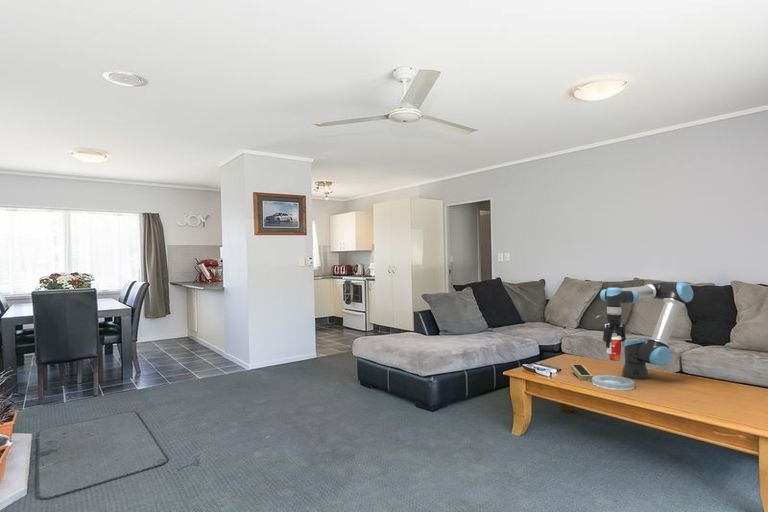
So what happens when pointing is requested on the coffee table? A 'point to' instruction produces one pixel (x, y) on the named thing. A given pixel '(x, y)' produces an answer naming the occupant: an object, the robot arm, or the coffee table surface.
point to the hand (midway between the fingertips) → (614, 352)
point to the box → (581, 372)
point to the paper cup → (615, 348)
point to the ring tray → (613, 382)
